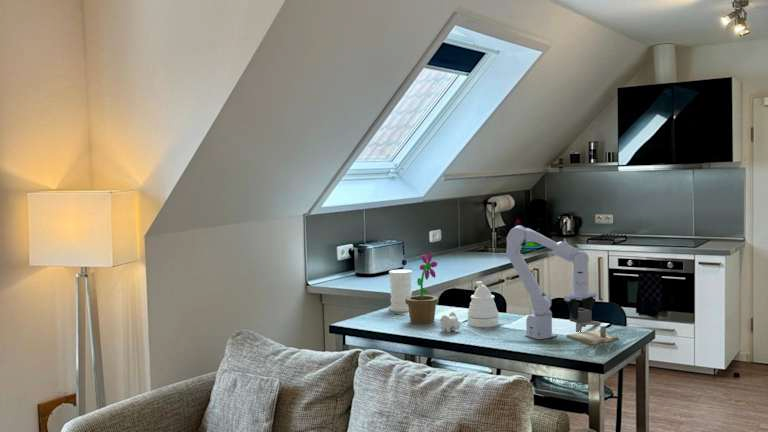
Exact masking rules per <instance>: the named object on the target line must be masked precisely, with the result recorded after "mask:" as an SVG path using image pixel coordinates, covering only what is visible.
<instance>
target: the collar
mask: <svg viewBox="0 0 768 432" xmlns="http://www.w3.org/2000/svg"><path fill="white" fill-rule="evenodd" d="M592 319H593V318H592V309H591V310H588V309H584V307H578V317H577V319H572V316H571V312H570V311H569V321H570V322H572V323H575V324H576V323H579V324H582V323H588V322H592V321H593V320H592Z"/></svg>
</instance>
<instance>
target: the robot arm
mask: <svg viewBox="0 0 768 432" xmlns="http://www.w3.org/2000/svg"><path fill="white" fill-rule="evenodd" d="M524 242H525V243H532V242H535V243H537V244H538V245H541V246H543V247H545V248H548V249H550V250H552V251H553V253H554V254H553V255H555V256H557V257H559V258H561V259H563V260H565V261H567V262H569V263H571V262H572V265H573V270H572V293H571V294H570V293H569V294H566V295H565V294H564V297H563V298H564V299H563V300H564V301H565V303H566V304H567V307H568V309H569V313H570V312H571V316H572V319H577V317H578V308H580V307H579V306H580V301H577V300H581V301H582V306H583V307H582V308H584V309H588V310H592V308H593V306H594V304H595V303H596V302H597V301H596V298H598V297H597V296H598V293H597V291H589V265H588V264H589V254H588V253H587V252H586V251H585V250H584V249H580V248H579V247H574V246H573V245H570V244H569V243H568V242H567V241H558V242H556V241H555V240H553V239H551V238H549V237H547V236H545V235H543V234H542V233H540V232H537V231H535V230H533V229H532V228H529V227H525V226H523V225H516V226H514V227H513V228H511V229H510V230H509V232H508V234H507V236H506V250H505V251H506V252H505V253H506V256H507V257H508V259H509V261H510V263H511V265H512V267H513V268H514V269H515V272H516V274H517V275H518V276H519V279H520V280H521V282H522V284H523V285H524V288H525V289H526V290H527V292H528V294H529V299H530V301H531V303H532V309H533V311H532V314H531V315H528V316H527V317H526V322H525V323H526V333H525V336H526V337H529V338H533V339H536V340H541V339H548V338H549V339H550V338H553V337H558V335H557V334H555V333H553V321H552V320H553V319H552V318H553V313H552V310H551V309H550V308H551V306H552V299H551V297H550V296H549V295H547V294H546V292H545V291H544V290H543V289H542V288H541V287H540V285H539V283H538V281H537V279H536V278H535V277H534V274H533V273H532V270H531V269H530V267H529V265H528V264H527V262H526V260H525V258H524V257H523V255H522V253H521V249H522V247H523V244H524Z"/></svg>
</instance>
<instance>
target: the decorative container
mask: <svg viewBox="0 0 768 432" xmlns="http://www.w3.org/2000/svg"><path fill="white" fill-rule="evenodd" d="M388 275H389V276H390V279H389V281H390V303H391V304H390V305H389V307H388V309H389V311H391V312H397V313H398V312H400V313H401V312H403V313H405V312H409V308H408V304H406V303H405V299H406V297H409V296H413V292H412V287H413V286H412V280H413V279H412V275H413V270H411V269H392V270H389V271H388Z"/></svg>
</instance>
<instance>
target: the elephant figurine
mask: <svg viewBox="0 0 768 432" xmlns="http://www.w3.org/2000/svg"><path fill="white" fill-rule="evenodd" d="M448 315H449V316H447V315H442V316H441V317H440V319H439V322H440V329H441V332H443V333H451V332H453V331H458V330H459V329H460V328H461V327H463V324H461V323H460V322H459V319H458V317H457V315H456V313H455V312H453V311H452V312H450V313H449V314H448ZM460 326H461V327H460Z"/></svg>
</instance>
